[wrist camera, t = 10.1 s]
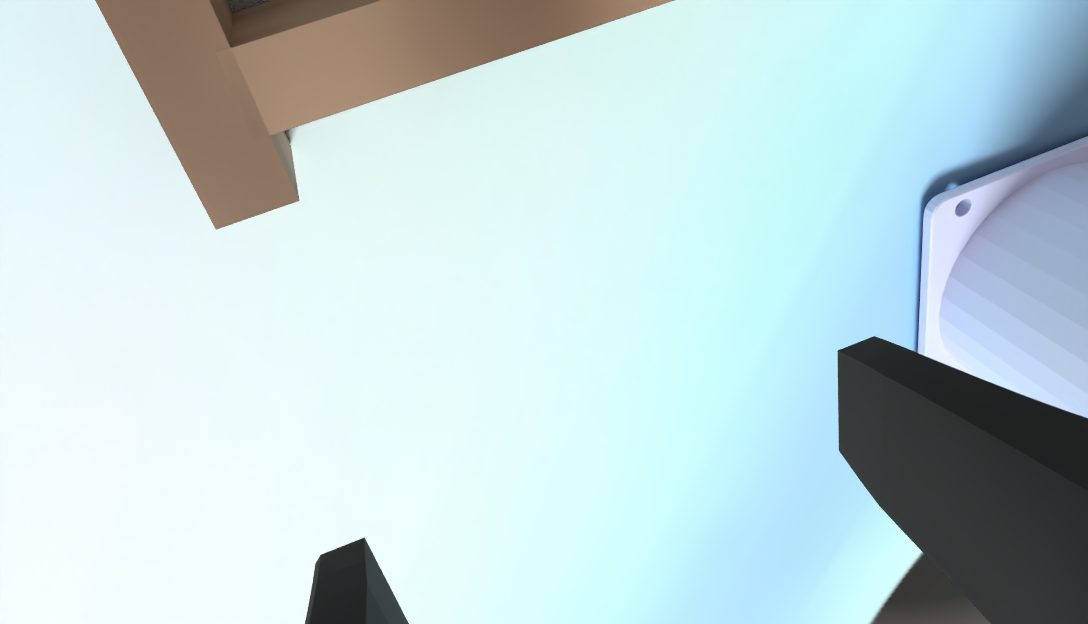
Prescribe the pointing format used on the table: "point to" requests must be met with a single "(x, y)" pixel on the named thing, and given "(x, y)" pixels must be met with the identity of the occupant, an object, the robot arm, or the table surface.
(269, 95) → the corner arena
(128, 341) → the table surface
